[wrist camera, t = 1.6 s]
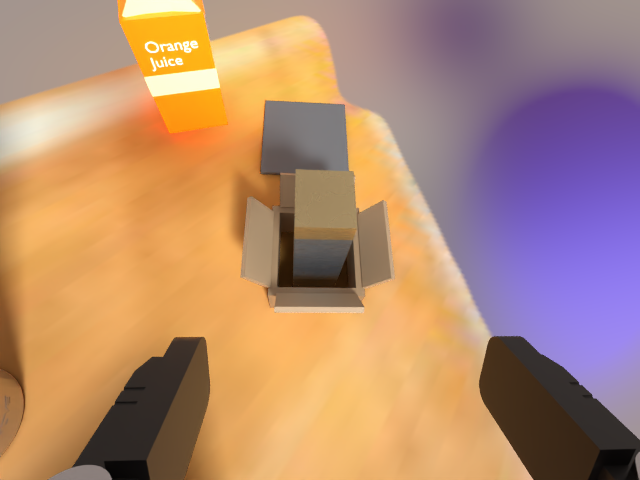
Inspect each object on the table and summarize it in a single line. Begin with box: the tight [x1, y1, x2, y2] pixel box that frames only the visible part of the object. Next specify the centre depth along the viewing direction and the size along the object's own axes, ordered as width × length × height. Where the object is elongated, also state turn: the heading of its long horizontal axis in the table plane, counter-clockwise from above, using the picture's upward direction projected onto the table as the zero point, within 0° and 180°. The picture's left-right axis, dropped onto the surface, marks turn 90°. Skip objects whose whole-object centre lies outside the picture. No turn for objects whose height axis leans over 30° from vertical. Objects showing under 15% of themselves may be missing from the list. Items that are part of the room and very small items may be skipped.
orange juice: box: [118, 0, 228, 133], centre depth 38 cm, size 8×9×20 cm
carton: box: [241, 173, 395, 313], centre depth 35 cm, size 14×14×8 cm
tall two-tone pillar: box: [293, 169, 357, 287], centre depth 32 cm, size 4×5×14 cm
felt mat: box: [261, 101, 349, 175], centre depth 46 cm, size 11×12×1 cm
